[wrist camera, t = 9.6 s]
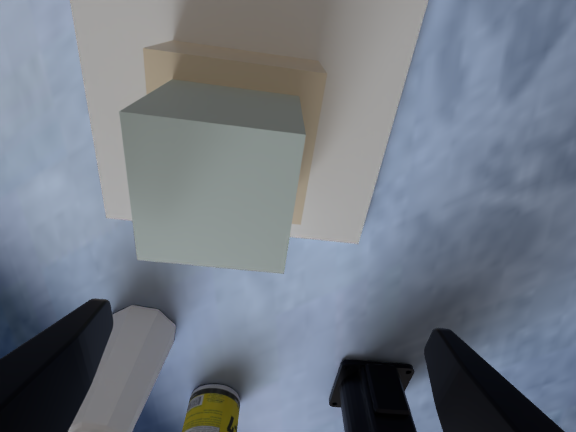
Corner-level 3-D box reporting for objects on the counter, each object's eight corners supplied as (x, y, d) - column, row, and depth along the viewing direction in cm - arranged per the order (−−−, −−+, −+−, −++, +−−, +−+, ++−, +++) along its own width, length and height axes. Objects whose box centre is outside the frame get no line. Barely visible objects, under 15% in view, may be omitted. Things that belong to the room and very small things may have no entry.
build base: (355, 235, 23) (371, 286, 19) (113, 210, 22) (72, 258, 18) (423, -10, 16) (474, -17, 12) (71, -66, 15) (-15, -97, 11)
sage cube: (284, 204, 16) (283, 273, 12) (176, 192, 16) (137, 260, 12) (299, 96, 14) (305, 134, 9) (172, 79, 13) (119, 111, 9)
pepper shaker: (124, 352, 29) (48, 514, 20) (98, 307, 27) (-5, 470, 17) (185, 346, 29) (138, 508, 20) (166, 300, 26) (99, 463, 17)
